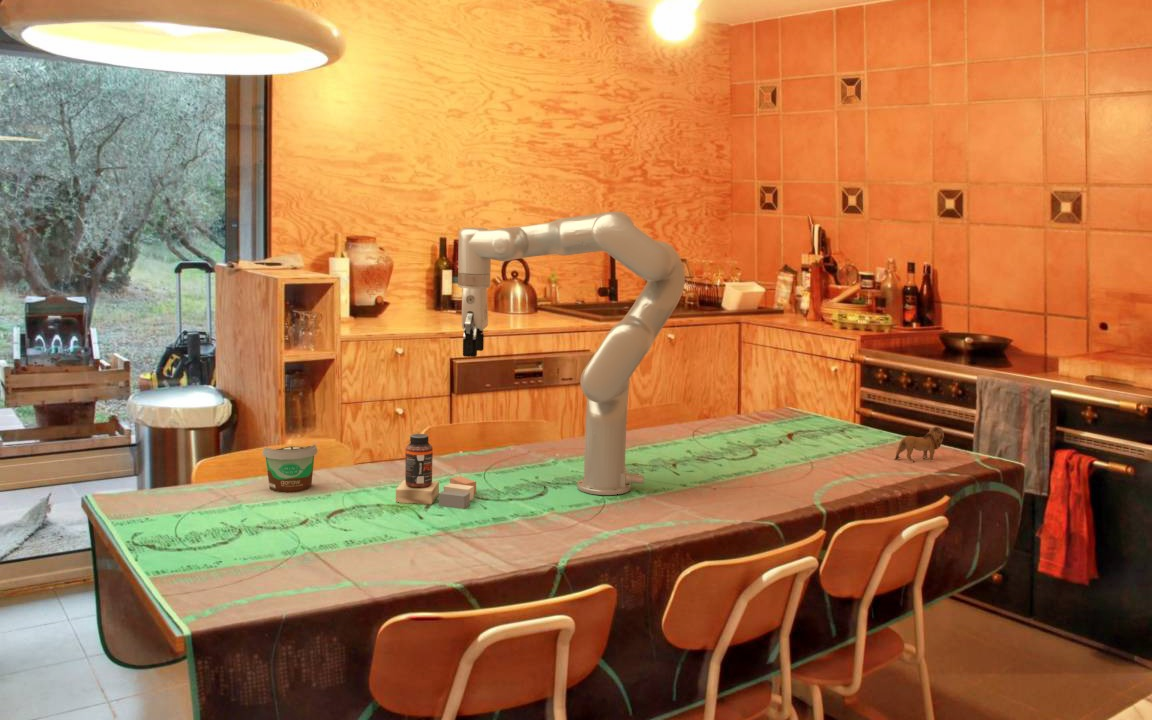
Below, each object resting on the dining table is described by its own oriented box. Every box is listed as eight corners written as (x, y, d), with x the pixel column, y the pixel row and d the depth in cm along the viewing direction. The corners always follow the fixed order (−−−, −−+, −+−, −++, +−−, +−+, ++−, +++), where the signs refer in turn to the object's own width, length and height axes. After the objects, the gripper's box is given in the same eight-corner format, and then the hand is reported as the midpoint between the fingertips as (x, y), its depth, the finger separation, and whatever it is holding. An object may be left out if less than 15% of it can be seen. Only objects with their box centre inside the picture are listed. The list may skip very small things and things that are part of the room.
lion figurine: (934, 456, 290) (936, 424, 288) (946, 461, 285) (949, 428, 283) (888, 459, 285) (891, 426, 283) (900, 464, 280) (903, 431, 278)
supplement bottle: (427, 489, 233) (427, 439, 231) (401, 487, 234) (401, 437, 232) (435, 482, 239) (436, 433, 237) (410, 480, 240) (410, 431, 238)
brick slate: (469, 506, 232) (469, 493, 232) (464, 509, 229) (464, 496, 229) (444, 503, 234) (444, 489, 234) (438, 506, 231) (438, 493, 231)
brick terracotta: (476, 494, 241) (476, 481, 241) (465, 496, 239) (465, 483, 239) (460, 488, 246) (460, 476, 245) (449, 490, 244) (450, 478, 243)
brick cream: (473, 499, 238) (473, 486, 237) (468, 502, 235) (468, 489, 234) (449, 496, 240) (449, 483, 239) (443, 499, 237) (443, 486, 236)
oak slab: (438, 494, 240) (438, 481, 239) (431, 504, 232) (431, 491, 232) (404, 492, 240) (404, 479, 240) (395, 502, 233) (395, 489, 232)
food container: (268, 496, 235) (267, 452, 233) (262, 489, 240) (262, 446, 238) (323, 490, 240) (323, 447, 239) (317, 484, 246) (316, 441, 244)
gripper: (484, 284, 238) (483, 359, 241) (495, 278, 255) (494, 348, 258) (451, 283, 239) (450, 358, 241) (464, 277, 256) (463, 347, 258)
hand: (473, 353), depth 250 cm, fingers open, 9 cm apart
